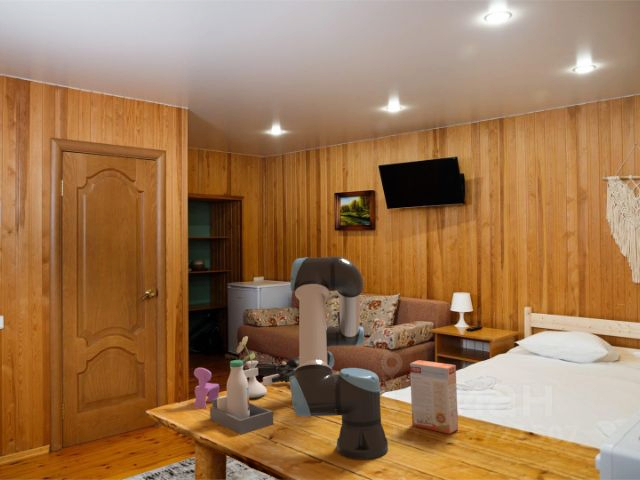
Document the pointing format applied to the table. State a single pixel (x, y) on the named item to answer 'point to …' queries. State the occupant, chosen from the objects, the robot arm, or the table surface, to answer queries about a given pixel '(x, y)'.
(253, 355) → the flower in vase
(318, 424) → the table surface
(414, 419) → the cracker box
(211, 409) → the grey tray
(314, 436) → the table surface
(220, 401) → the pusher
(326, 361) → the robot arm
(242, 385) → the milk bottle
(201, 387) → the toy chair
